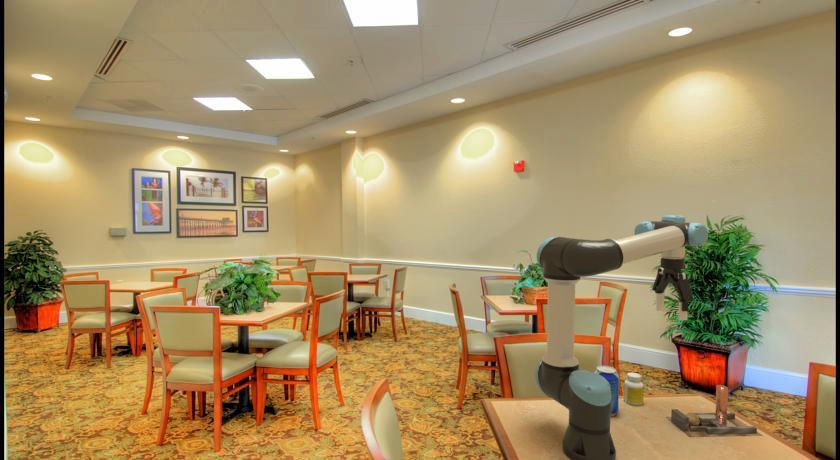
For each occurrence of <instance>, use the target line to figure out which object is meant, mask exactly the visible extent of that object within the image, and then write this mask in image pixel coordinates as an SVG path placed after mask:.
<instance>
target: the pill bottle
mask: <svg viewBox="0 0 840 460" xmlns="http://www.w3.org/2000/svg"><path fill="white" fill-rule="evenodd" d="M626 377H627V379H625V380H624V382H623V383H624V384H623V385H624V386H623V387H624V389H623V390H624V391H623V402H624V403H625V404H627V405H629V406H633V407H641V406H643V405H644V387H645V386H644V383H643V382H642V381H641V380H642V375H641V374H640V373H636V372H628V373H626Z"/></svg>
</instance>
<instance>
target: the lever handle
mask: <svg viewBox="0 0 840 460" xmlns="http://www.w3.org/2000/svg"><path fill="white" fill-rule="evenodd" d="M715 389H716V390H715V410H714V411H715V412H714V413H715V415H697V416H698V418H699V421H700V423H701V424H711V425H712V426H713V427H736V426H735V425H734V424H732V423H731V422H729V421H728V420H727V413H728V404H729V403H728V402H729V401H728V400H729V399H728V398H729V387H728V386H726V385H722V384H716V388H715Z"/></svg>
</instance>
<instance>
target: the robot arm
mask: <svg viewBox="0 0 840 460" xmlns="http://www.w3.org/2000/svg"><path fill="white" fill-rule="evenodd" d="M708 233H709V230H708V227H706V225H704V223H703V224H702V223H700V222H698V223H697V222H693V221H692V222H686V217H685V216H684V215H676V214H675V215H674V214H673V215H667V214H666V215H663V216H661V220H660V221H658V220H655V221H653V220H652V221H650V220H645V221H640V222H638V223H637V224H636V225H635V226H634V235H630V236H626V237H622V238H619V239H613V238H606V239H605V238H604V239H600V240H598V239H596V240H593V239H581V238H572V237H566V236H552V237H548V238H546V239H545V240H544V241H542V243H541V244H540V245H539V247H538V248H537V252H536V262H537V265H539V267H540V268H541V269H542V270H543V273H542V275H543V276H542V278H543V279H544V280H545V281H546V282H547V314H546V315H547V317H546V318H547V319H546V321H547V323H546V324H547V326H546V353H545V354H544V355H543V356H541V357H542V358H541V361H539V363H538V366H536V368H535V372H534V380H535V384H536V385H537V387H538V389H539V390H540V391H541V392H542V393H543V394H545V396H546V397H548V398H550V399H553V400H554V401H555V402H557V403H558V404H559V405H561V406H562V407H564V408H565V409H567V410H568V424H567V428H566V431H565V432H564V436H563V437H562V442H561V443H562V446H561V448H562V452H563V454H565V456H566V457H567V458H568V459H570V460H616V459H617V457H616V456H617V449H616V447H615V443H614V440H613V436H612V433H611V417H610V415H611V388H610V384H609V382H608V381H607V380H606V379H605V378H604V377H602V376H601V375H599V374H597V373H594V372H595V371H592V372H591V371H590V370H586V369H579V368H580V361H579V359H577V357H575V329H576V326H575V325H576V324H575V323H576V322H575V319H576V318H575V317H576V314H575V313H576V284H577V283H578V282H579V281H580V280H581V278H586V277H593V276H598V275H602V274H605V273H609V272H612V271H616V270H619V269H620V268H621V267H622V266H623V265H625V264H628V263H631V262H635V261H638V260H641V259H645V258H649V257H652V256H656V255H658V254H660V256H661V258H660V265H659V266H660V268H657V274H656V276H655V279H654V283H653V285H652V288H651V289H652V291H654V293H655V311H656V312H658V311H660V312H661V311H663V312H664V310H665V290H666V288H667V287H668V285H669V284H671V285H672V286H674V288H675V291H676V293H677V296H678V297H679V300H678V314H677V315H678V317H677V319H678V321H688V311H689V303H690V302H694V297H693V293H692V291H691V287H690V282H689V280H688V279H689V278H688V277H689V275H688V273H685V272H683V273H682V270H684V269H685V259H684V258H685V257H686V256H685V253H686V252H685V248H686V247H688V246H689V247H702V246H704V245H705V244H706V242H707V241H708V238H709V234H708Z"/></svg>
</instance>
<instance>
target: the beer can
mask: <svg viewBox="0 0 840 460" xmlns="http://www.w3.org/2000/svg"><path fill="white" fill-rule="evenodd" d="M593 372H594V373H597V374H599V375H601V376H602V377H604V378H605V379H606V380H607V381H608V382H609V384H610V388H611V415H610V418H612V417H614V416H615V417H616V415H617V413H618V412H619V398H620V397H619V394H620V393H619V392H620V375H619V374H618V372H617V369H616V368H614V367H613V366H609V365H598V366H596V369H595V370H594V371H593Z"/></svg>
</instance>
